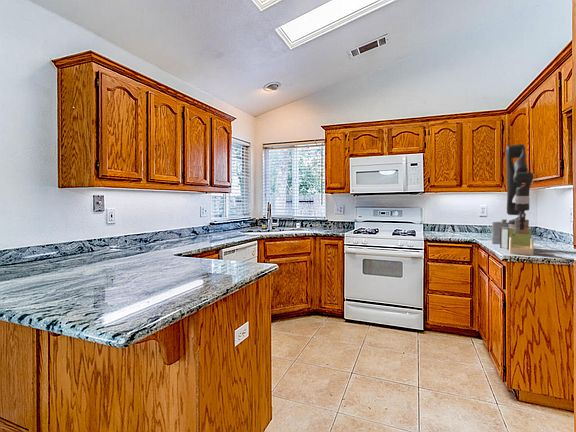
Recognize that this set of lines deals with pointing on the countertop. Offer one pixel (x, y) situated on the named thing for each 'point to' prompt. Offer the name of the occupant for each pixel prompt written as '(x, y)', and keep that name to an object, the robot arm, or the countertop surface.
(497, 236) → the hip flask
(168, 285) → the countertop surface
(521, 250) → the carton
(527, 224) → the walnut block
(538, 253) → the mat
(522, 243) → the protein box
